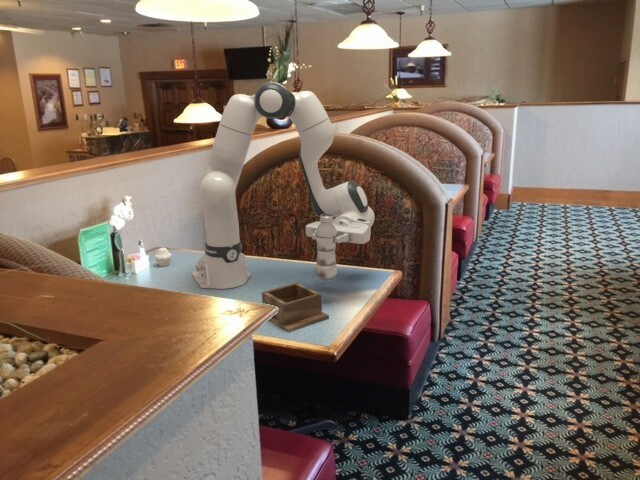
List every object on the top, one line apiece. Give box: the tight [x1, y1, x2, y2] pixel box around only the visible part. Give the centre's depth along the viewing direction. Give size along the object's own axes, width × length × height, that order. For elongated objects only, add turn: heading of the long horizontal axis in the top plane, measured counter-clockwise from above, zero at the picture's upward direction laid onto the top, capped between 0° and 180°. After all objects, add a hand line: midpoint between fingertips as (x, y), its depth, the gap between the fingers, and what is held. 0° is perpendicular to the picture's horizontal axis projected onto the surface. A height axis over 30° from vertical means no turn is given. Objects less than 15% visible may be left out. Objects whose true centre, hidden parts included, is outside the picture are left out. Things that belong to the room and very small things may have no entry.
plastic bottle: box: [315, 214, 338, 281], centre depth 164 cm, size 6×7×20 cm
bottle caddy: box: [261, 282, 330, 333], centre depth 158 cm, size 17×14×7 cm
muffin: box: [154, 247, 172, 267], centre depth 206 cm, size 6×6×7 cm
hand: (325, 238), depth 163 cm, fingers closed on plastic bottle, 6 cm apart
